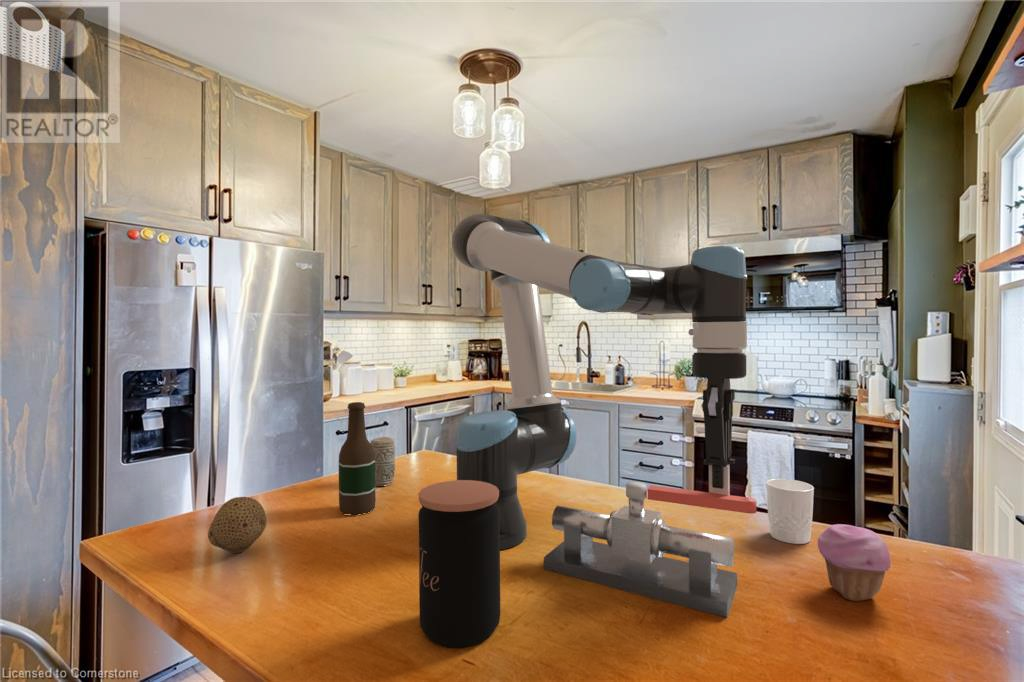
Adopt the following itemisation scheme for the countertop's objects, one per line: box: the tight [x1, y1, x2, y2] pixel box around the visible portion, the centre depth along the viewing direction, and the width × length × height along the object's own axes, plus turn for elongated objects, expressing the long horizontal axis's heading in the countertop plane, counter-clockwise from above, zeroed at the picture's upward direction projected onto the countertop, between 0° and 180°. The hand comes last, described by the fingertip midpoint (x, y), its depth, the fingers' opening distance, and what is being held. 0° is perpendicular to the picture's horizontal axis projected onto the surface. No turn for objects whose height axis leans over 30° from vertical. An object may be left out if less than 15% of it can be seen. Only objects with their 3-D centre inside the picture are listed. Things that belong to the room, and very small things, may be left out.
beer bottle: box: [338, 401, 376, 515], centre depth 111 cm, size 8×8×24 cm
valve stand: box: [543, 498, 738, 618], centre depth 79 cm, size 28×10×12 cm, turn 59°
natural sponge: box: [207, 496, 268, 554], centre depth 89 cm, size 9×9×10 cm
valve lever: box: [625, 481, 757, 514], centre depth 76 cm, size 19×3×2 cm, turn 63°
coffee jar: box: [417, 479, 501, 649], centre depth 66 cm, size 11×11×18 cm
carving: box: [370, 436, 396, 487], centre depth 131 cm, size 6×8×12 cm
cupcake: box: [817, 523, 891, 602], centre depth 73 cm, size 9×9×10 cm
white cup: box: [765, 478, 815, 545], centre depth 94 cm, size 8×8×10 cm
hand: (719, 507), depth 75 cm, fingers closed
